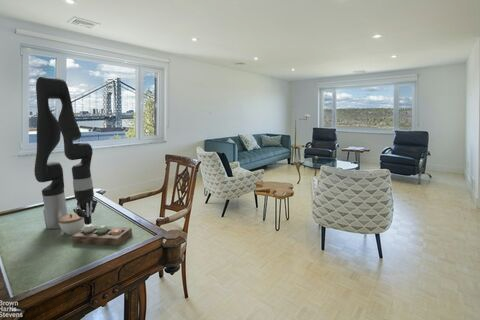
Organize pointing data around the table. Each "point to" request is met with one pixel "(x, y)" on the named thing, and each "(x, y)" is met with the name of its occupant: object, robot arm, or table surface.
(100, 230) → the button sage
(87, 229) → the button ivory
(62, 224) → the lidded jar
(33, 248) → the table surface
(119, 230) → the button terracotta
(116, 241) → the wooden tray
